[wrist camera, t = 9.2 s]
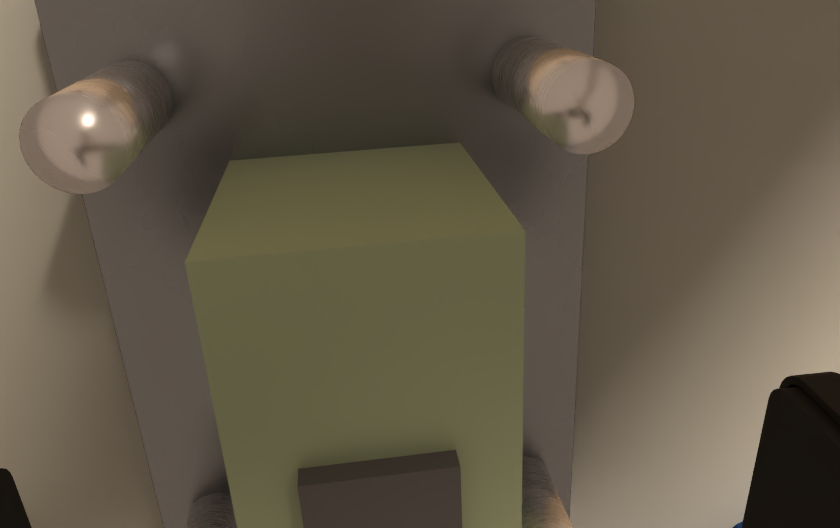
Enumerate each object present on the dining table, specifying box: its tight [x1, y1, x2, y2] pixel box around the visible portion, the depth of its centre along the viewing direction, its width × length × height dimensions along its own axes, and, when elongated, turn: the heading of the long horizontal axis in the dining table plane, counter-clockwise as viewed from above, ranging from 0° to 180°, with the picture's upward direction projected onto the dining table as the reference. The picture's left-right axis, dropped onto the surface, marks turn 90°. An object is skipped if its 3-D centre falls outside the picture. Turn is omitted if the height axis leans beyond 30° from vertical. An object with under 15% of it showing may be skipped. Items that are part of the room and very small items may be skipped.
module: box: [185, 142, 525, 528], centre depth 13 cm, size 7×4×5 cm, turn 3°
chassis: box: [19, 0, 634, 528], centre depth 14 cm, size 14×10×5 cm
